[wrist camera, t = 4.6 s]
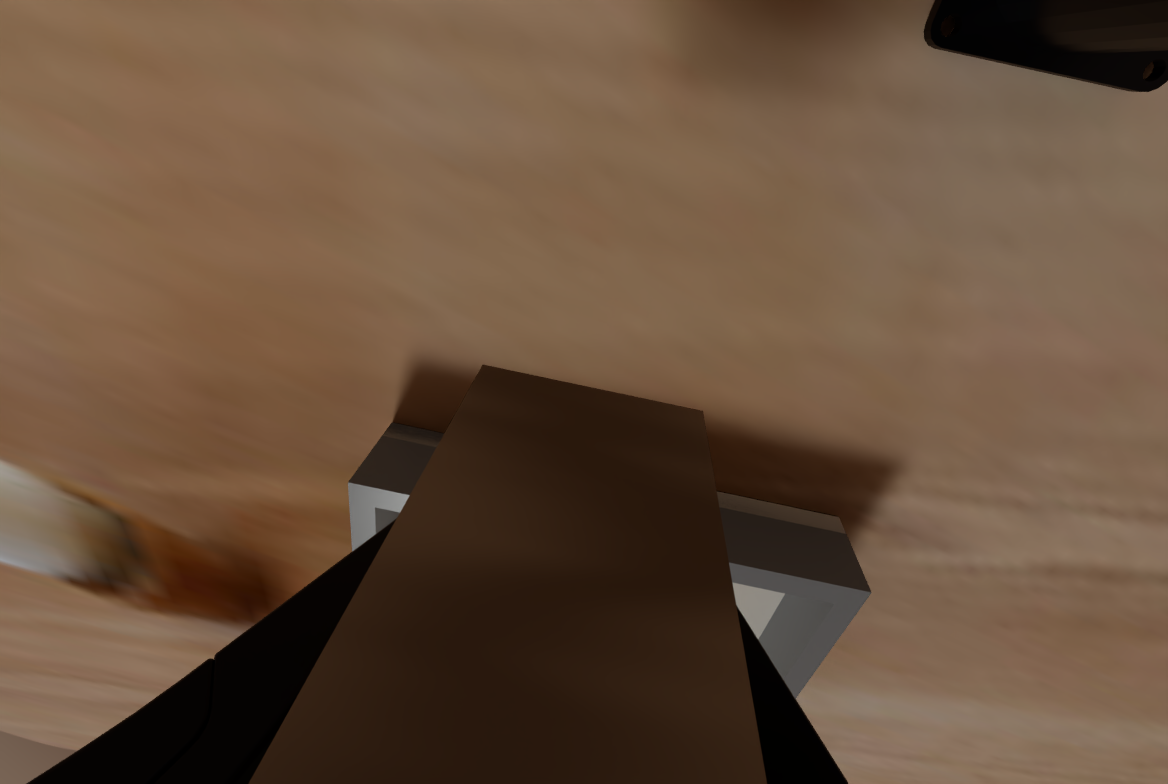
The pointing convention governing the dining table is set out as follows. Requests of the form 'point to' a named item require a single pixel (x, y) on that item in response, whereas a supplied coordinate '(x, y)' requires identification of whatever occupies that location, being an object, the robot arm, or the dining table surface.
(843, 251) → the dining table surface
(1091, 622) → the dining table surface
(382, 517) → the walled box
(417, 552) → the peg
